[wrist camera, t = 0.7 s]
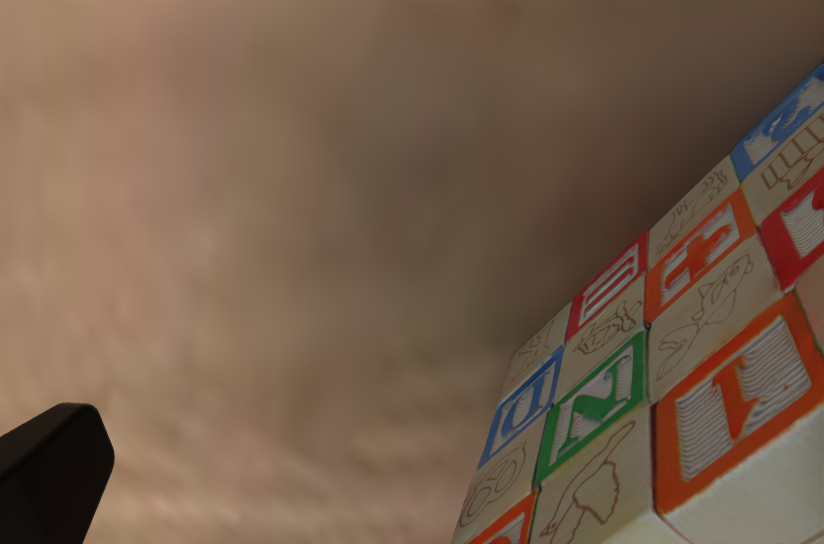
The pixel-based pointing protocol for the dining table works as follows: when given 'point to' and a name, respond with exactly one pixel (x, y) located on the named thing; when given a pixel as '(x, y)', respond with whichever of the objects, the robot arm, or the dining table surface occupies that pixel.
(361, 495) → the dining table surface
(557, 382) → the stack of blocks
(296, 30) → the dining table surface
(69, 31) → the dining table surface
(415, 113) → the dining table surface
